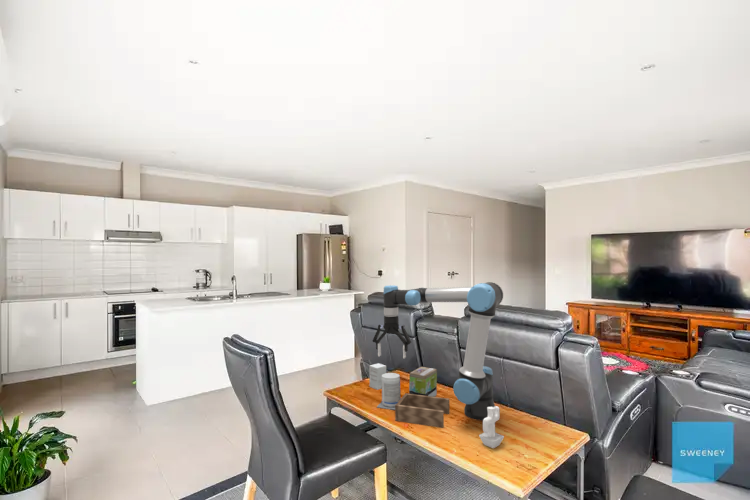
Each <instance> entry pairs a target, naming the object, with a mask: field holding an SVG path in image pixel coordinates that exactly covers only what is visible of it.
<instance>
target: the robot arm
mask: <svg viewBox="0 0 750 500" xmlns="http://www.w3.org/2000/svg"><path fill="white" fill-rule="evenodd" d="M503 299H504V291H503V289H502V287H500V285H499V284H498V283H495V282H489V281H488V282H481V283H476V284H474V285H473V286H451V287H449V286H448V287H445V286H444V287H418V288H412V289H411V288H410V289H399V287H398V285H394V284H393V285H391V284H390V285H385V286H384V287H383V315H384V316H383V324H382V323H379V324H378V325H377V330H376V332H375V335H374V337H373V338H372V342H373V343H375V348H376V350H377V356H378V357H380V356H382V342H381V340H383V338H385V336H386V335H387V334H388V335H389V334H392V335H396V336H397V337H398V339H399V340H400V341H401V342H402V344H403V345H402V358H403V359H406V358H407V352H408V350H409V349H408V347H409V345H411V343H412V341H411V339H410V336H409V334H408V333H407V331H406V327H405V325H404V324H402V325H399V305H401V306H402V305H404V306H418V305H419V304H420V303H467V304H468V309H467V310H468V311H467V312H468V313H469V314H470V319H469V327H468V332H467V341H466V346H465V353H464V360H463V366H461V367H460V368H459V369H458V376H457V379H456V380H455V381H454V384H453V389H452V390H453V393H454V396H455V397H456V399H457V400H458V401H460V402H461V403H462V404H464V410H463V411H464V412H463V413H464V415H465V416H466V417H467V418H469V419H471V420H475V421H482V422H483V419H484V418H486V417H487V416H488V411H487V407H495V406H496V404H495V402H494V389H493V388H494V385H493V384H494V377H493V376H494V374H493V372H494V371H493V368H491V367H490V366H486V365H485V357H486V352H487V346H488V345H487V344H488V340H489V332H490V325H491V321H492V320H491V319H493V318H494V317H496V311H497V306H499V305H501V303H502V302H503ZM382 329H384V331H382ZM399 329H400V330H401V332H402V334H403V335H402V334H401V332H400V330H399ZM381 331H382V332H383V333H382V334H381V335H380V333H381ZM379 335H380V336H379Z"/></svg>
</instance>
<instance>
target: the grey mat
mask: <svg viewBox="0 0 750 500" xmlns="http://www.w3.org/2000/svg"><path fill="white" fill-rule="evenodd" d="M376 408H377V409H384V410H385V409H386V410H389V411H390V410H391V411H395V407H388V406H385V405H383V404H382V401H381V402H380V403H379V404H378V405H377V406H376Z"/></svg>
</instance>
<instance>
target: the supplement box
mask: <svg viewBox="0 0 750 500" xmlns="http://www.w3.org/2000/svg"><path fill="white" fill-rule="evenodd" d="M368 367H369V368H368V369H369V371H368V372H369V387H370V388H372V389H373V390H377V391H379V390H382V375H383V374H385V373H387V365H384V364H382V363H379V362H377V363H374V364H371V365H368Z"/></svg>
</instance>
